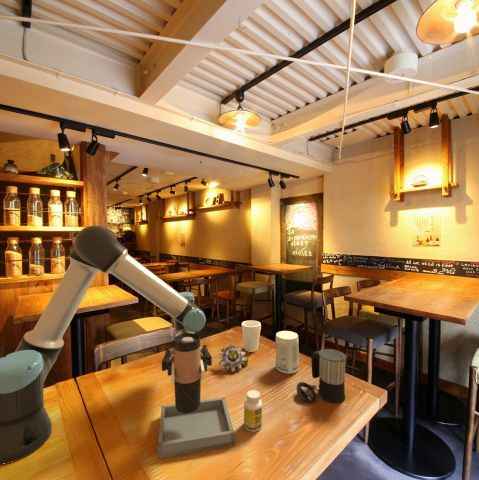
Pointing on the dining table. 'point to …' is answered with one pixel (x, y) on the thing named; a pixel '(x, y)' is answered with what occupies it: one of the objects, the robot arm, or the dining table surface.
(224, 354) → the passion flower
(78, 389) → the dining table surface
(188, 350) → the travel mug
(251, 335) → the foam cup
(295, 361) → the supplement tub
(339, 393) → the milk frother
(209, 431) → the tray
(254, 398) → the supplement bottle
